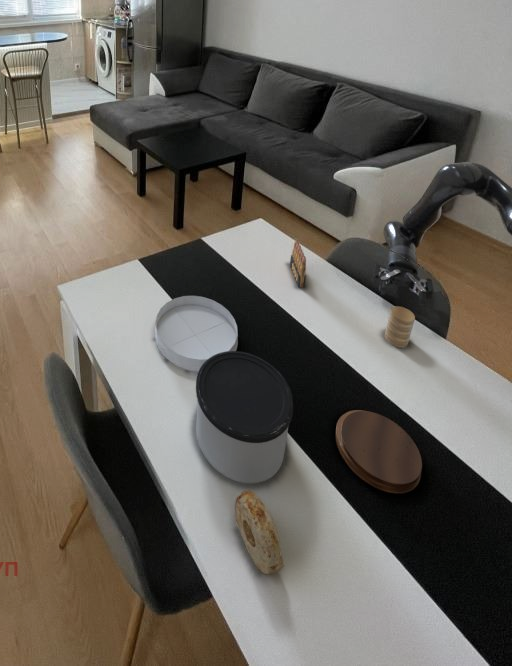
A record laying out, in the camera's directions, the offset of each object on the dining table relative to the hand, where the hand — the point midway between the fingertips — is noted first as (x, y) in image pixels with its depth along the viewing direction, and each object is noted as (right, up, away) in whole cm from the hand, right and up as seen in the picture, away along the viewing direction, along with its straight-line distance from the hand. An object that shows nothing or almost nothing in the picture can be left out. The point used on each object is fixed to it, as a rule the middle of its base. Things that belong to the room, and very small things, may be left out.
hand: (401, 297), depth 116 cm
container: (-52, -21, -24) cm, 61 cm away
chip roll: (-4, -10, -4) cm, 12 cm away
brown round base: (-25, -21, -29) cm, 43 cm away
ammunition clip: (-20, -2, +20) cm, 29 cm away
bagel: (-54, -28, -41) cm, 74 cm away
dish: (-56, -12, 0) cm, 58 cm away
